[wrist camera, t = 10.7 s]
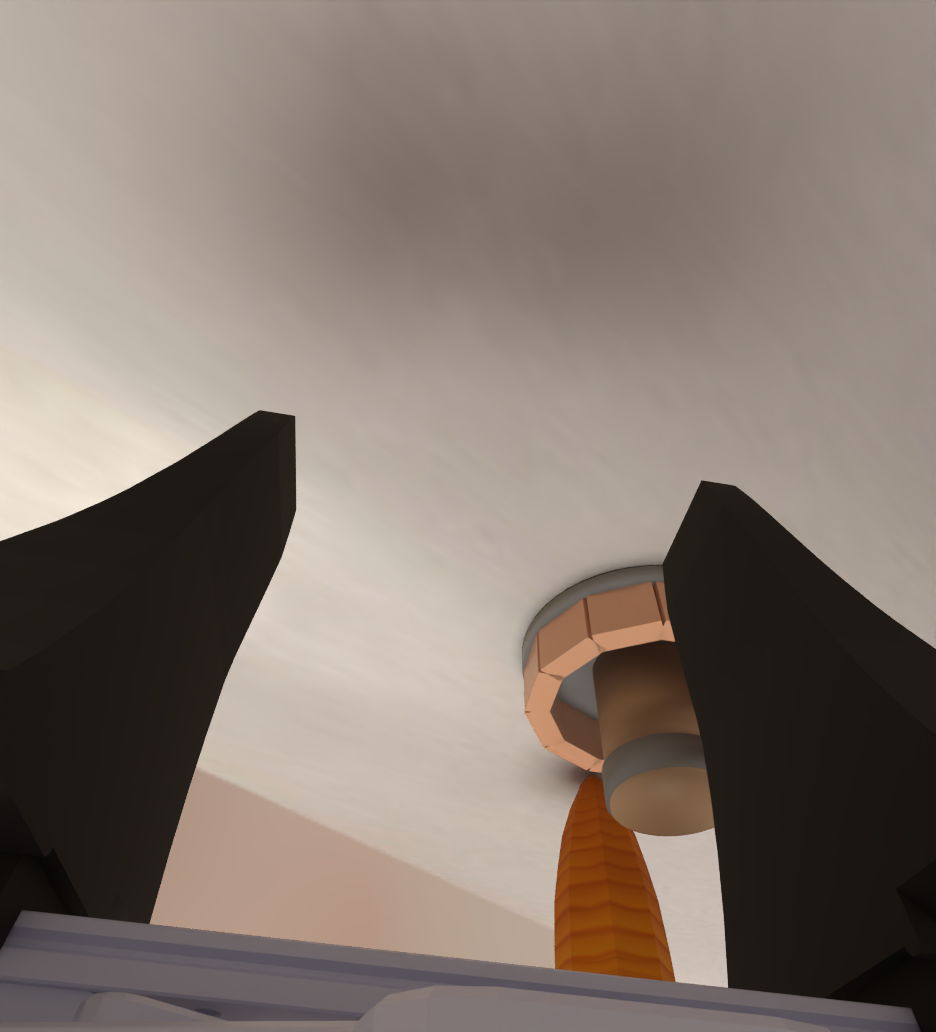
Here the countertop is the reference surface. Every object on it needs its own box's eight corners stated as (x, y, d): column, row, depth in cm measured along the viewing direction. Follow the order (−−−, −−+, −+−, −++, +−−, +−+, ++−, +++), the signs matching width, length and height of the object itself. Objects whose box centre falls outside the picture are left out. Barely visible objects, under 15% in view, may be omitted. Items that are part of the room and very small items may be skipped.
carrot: (637, 799, 36) (703, 1192, 24) (546, 801, 36) (566, 1186, 24) (641, 748, 33) (719, 1168, 21) (542, 750, 33) (563, 1162, 21)
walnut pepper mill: (710, 631, 26) (756, 770, 21) (693, 702, 29) (730, 838, 24) (591, 632, 26) (610, 769, 22) (586, 703, 29) (602, 837, 24)
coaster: (814, 586, 25) (843, 642, 23) (711, 736, 32) (726, 791, 29) (553, 547, 25) (557, 600, 22) (502, 708, 31) (501, 762, 29)
